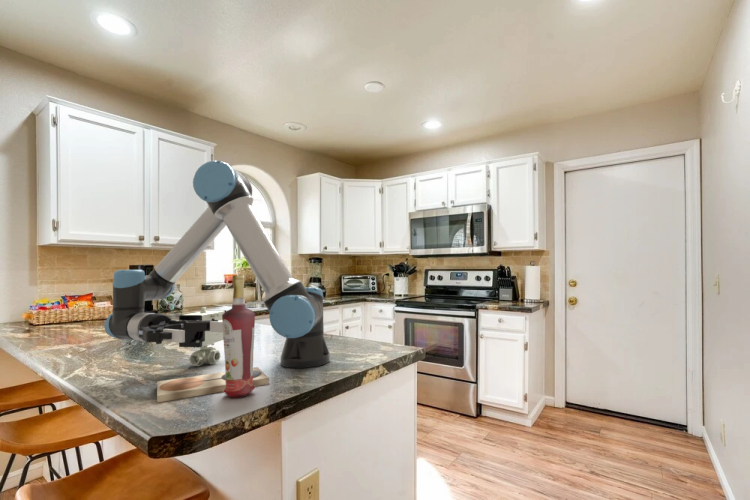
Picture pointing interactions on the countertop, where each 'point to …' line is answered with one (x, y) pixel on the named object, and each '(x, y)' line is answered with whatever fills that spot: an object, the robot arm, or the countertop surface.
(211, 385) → the board
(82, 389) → the countertop surface
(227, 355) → the liquor
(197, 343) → the ball valve
